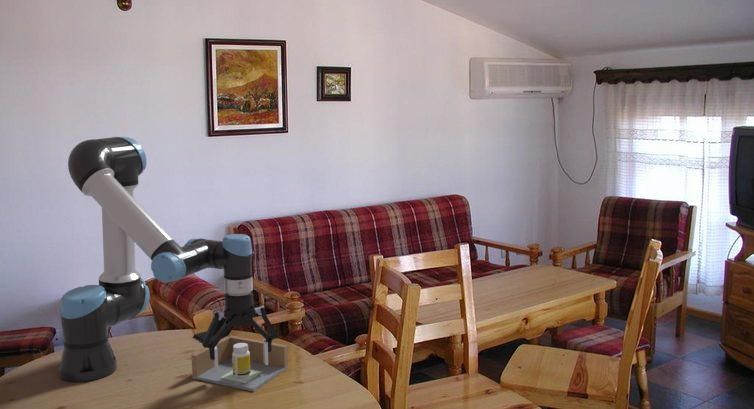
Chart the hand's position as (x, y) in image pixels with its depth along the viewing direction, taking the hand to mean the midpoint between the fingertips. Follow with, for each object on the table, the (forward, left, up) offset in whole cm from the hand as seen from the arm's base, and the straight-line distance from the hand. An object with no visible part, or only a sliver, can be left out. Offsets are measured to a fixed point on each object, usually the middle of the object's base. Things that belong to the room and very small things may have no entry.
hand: (241, 366), depth 191 cm
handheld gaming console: (-26, +22, -4) cm, 34 cm away
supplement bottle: (0, 0, -2) cm, 2 cm away
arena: (-2, +2, -3) cm, 5 cm away
